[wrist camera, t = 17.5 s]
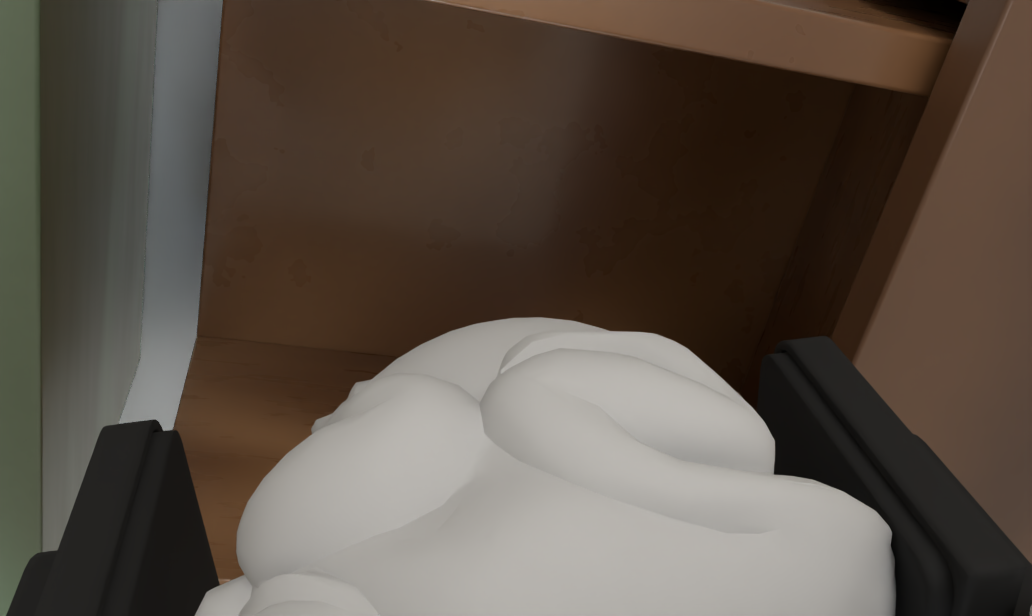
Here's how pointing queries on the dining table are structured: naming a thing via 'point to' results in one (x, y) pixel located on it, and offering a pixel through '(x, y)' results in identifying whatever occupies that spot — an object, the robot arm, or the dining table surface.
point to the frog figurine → (550, 494)
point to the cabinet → (961, 271)
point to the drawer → (427, 203)
